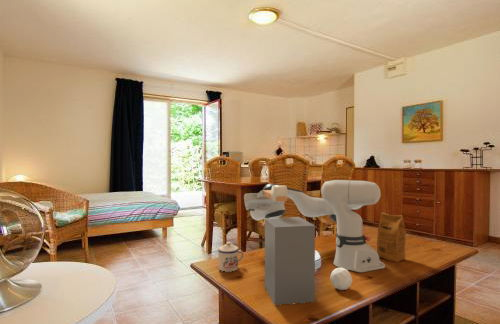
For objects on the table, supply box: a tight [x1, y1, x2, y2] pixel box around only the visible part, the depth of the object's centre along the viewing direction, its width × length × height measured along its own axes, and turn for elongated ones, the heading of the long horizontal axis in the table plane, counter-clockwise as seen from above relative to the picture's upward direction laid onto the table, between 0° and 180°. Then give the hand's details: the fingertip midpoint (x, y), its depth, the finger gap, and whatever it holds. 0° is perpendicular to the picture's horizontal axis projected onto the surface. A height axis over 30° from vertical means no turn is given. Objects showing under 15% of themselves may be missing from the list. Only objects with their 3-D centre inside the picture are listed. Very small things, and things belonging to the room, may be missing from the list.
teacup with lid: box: [217, 241, 245, 273], centre depth 129 cm, size 12×9×12 cm
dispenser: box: [264, 216, 316, 306], centre depth 104 cm, size 14×15×26 cm
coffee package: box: [376, 212, 407, 263], centre depth 142 cm, size 10×12×22 cm
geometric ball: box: [329, 267, 353, 291], centre depth 108 cm, size 8×8×8 cm
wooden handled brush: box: [261, 184, 288, 203], centre depth 123 cm, size 5×24×6 cm, turn 11°
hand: (268, 192), depth 131 cm, fingers closed on wooden handled brush, 4 cm apart
